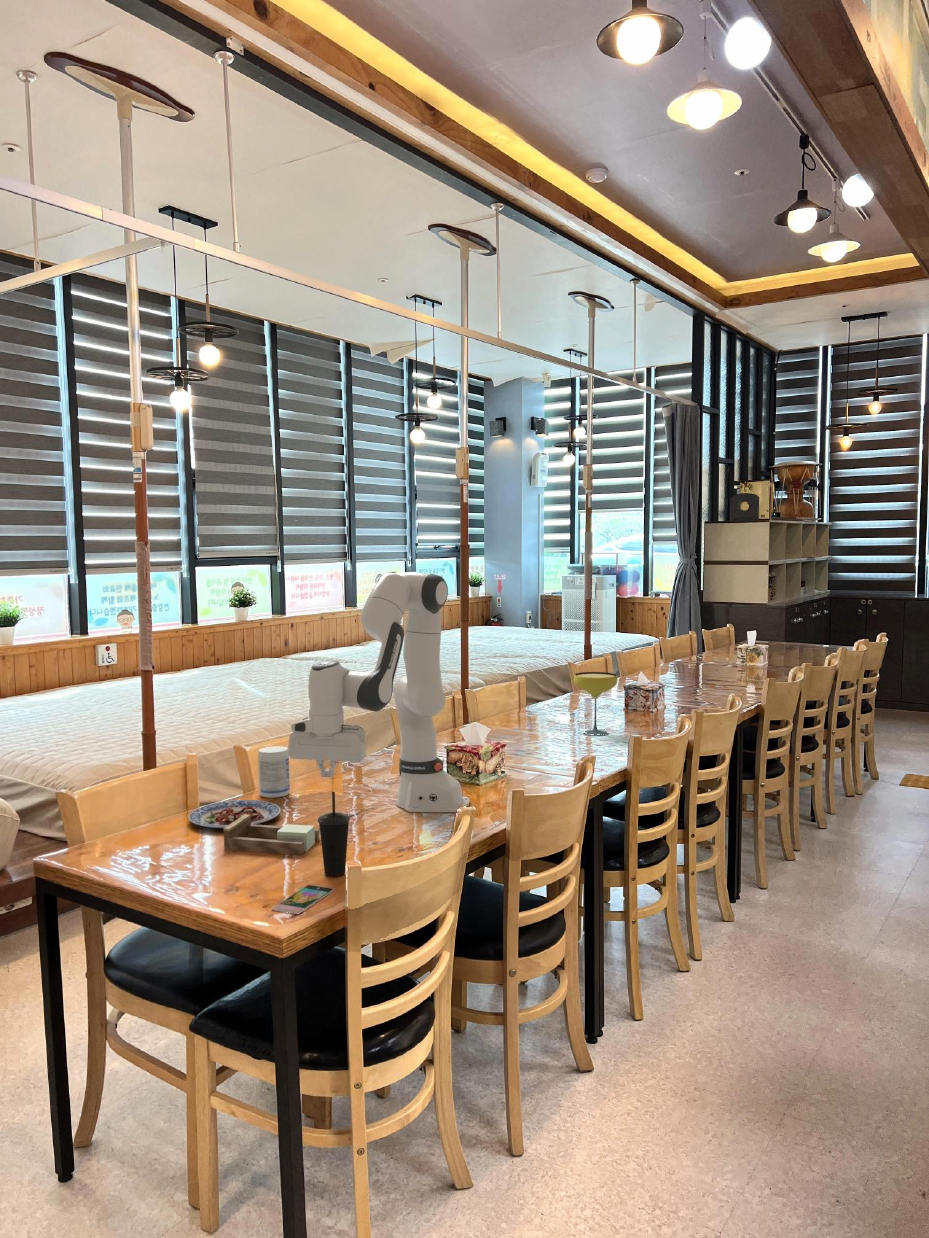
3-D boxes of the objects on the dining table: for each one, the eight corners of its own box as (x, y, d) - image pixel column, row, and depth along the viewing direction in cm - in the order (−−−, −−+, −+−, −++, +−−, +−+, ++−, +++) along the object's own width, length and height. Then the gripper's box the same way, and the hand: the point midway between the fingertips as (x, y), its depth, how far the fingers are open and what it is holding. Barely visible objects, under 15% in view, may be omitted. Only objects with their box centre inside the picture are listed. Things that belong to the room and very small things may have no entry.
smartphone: (335, 888, 197) (299, 913, 184) (335, 891, 197) (299, 917, 184) (308, 884, 200) (270, 908, 186) (308, 887, 200) (270, 911, 186)
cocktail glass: (593, 727, 378) (594, 670, 376) (625, 733, 364) (626, 675, 362) (564, 732, 367) (565, 674, 365) (597, 739, 353) (597, 679, 351)
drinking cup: (320, 868, 211) (318, 788, 209) (351, 867, 211) (350, 787, 210) (317, 880, 203) (315, 797, 201) (350, 879, 204) (348, 796, 202)
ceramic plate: (282, 804, 265) (282, 795, 265) (278, 831, 239) (278, 820, 239) (195, 809, 261) (195, 799, 260) (182, 836, 235) (181, 826, 235)
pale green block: (315, 843, 229) (314, 825, 229) (306, 852, 223) (306, 833, 222) (286, 842, 230) (286, 823, 230) (277, 850, 224) (276, 831, 224)
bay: (319, 839, 232) (319, 819, 231) (301, 855, 220) (300, 833, 219) (245, 834, 236) (245, 814, 236) (224, 849, 224) (223, 828, 224)
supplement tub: (294, 795, 274) (293, 750, 273) (265, 800, 269) (264, 754, 267) (282, 788, 282) (281, 744, 281) (254, 793, 277) (253, 748, 276)
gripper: (368, 723, 223) (369, 775, 224) (295, 720, 227) (296, 771, 228) (360, 728, 217) (361, 782, 218) (285, 724, 221) (286, 777, 222)
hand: (327, 776), depth 223 cm, fingers closed
